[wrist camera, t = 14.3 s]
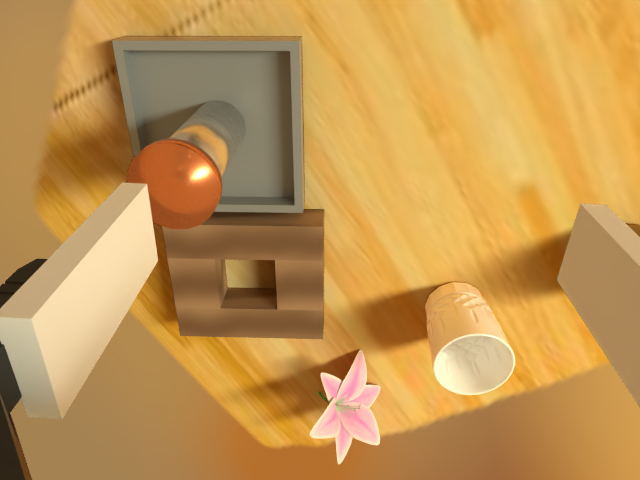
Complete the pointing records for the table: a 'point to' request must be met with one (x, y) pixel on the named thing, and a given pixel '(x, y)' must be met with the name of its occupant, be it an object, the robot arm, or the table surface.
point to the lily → (348, 409)
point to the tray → (229, 86)
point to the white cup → (466, 341)
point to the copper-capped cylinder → (189, 166)
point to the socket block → (249, 303)
